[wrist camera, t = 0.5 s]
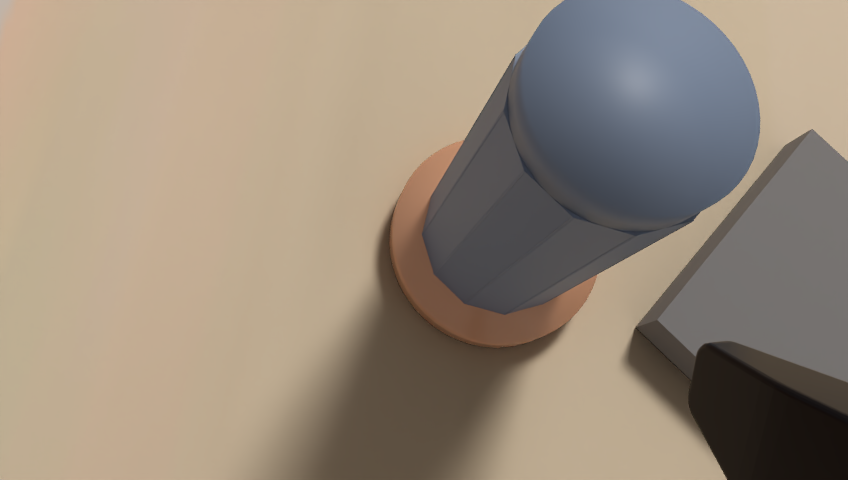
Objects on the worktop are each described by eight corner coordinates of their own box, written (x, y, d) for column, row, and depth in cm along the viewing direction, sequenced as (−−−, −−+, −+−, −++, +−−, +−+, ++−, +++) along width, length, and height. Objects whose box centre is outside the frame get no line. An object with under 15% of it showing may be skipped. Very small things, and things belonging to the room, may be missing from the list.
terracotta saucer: (626, 247, 26) (705, 202, 21) (500, 392, 23) (555, 378, 19) (483, 110, 26) (528, 36, 21) (345, 241, 24) (361, 189, 19)
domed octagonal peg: (601, 238, 24) (804, 106, 15) (506, 345, 23) (667, 271, 13) (493, 135, 25) (625, -59, 15) (391, 233, 23) (469, 84, 14)
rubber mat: (982, 326, 28) (1020, 320, 26) (855, 537, 24) (890, 543, 23) (785, 145, 28) (812, 129, 27) (635, 327, 25) (657, 319, 23)
